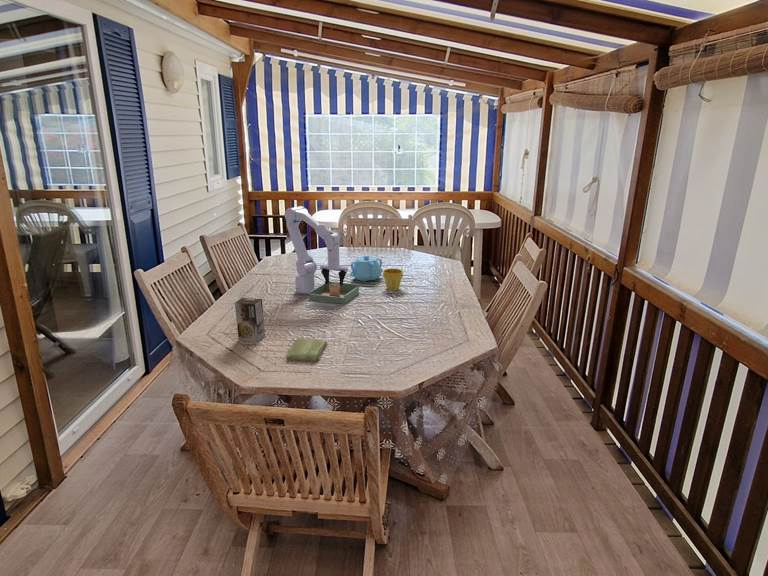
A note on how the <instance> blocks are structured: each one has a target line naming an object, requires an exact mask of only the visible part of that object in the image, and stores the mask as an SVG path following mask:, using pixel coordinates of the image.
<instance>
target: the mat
mask: <svg viewBox="0 0 768 576" xmlns="http://www.w3.org/2000/svg"><path fill="white" fill-rule="evenodd" d="M336 305H337V303H334V302H326V301H318V300H313V302H311V303H310V304H308V305H307V306H304V309H311V310H319V311H327V312H328V311H329V310H330V309H332V308H333V307H335V306H336Z"/></svg>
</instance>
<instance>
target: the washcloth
mask: <svg viewBox="0 0 768 576" xmlns="http://www.w3.org/2000/svg"><path fill="white" fill-rule="evenodd" d="M327 344H328V340H324V339H317V338H312V337H310V338H303V337H298V338H296V340H294V341H293V342H292V345H291V346H290V348H289V349H288V351H287V354H286V357H285V358H286V360H287V361H295V362H300V361H303V362H305V361H306V362H314V363H315V362H318V361H320V359H321V356H322V353H323V351H324V349H325V347H326V345H327Z"/></svg>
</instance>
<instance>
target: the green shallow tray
mask: <svg viewBox="0 0 768 576" xmlns="http://www.w3.org/2000/svg"><path fill="white" fill-rule="evenodd" d="M330 284H339V285H340V281H330V280H329V283H328V284H326V281H325V280H324V283H322V284H321V285H319V286H317V287H316V288H315V289H314V290H312V291H310V294H309V300H311V301H318V302H326V303H334V304H343V305H345V304H347V303H349V301H351V300H352V299H354V298H355V297H357V296H358V295H359V294H360V285H359V284H358V283H357V284H356V283H348V282H343V285H340V297H333V296H330V293H329V285H330Z"/></svg>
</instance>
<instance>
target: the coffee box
mask: <svg viewBox="0 0 768 576" xmlns="http://www.w3.org/2000/svg"><path fill="white" fill-rule="evenodd" d="M234 308H235V310H234V311H235V317H236V326H237V328H236V329H237V335H238V336H237V338H238V341H245V342H260V341H261V340H263V339H264V338H265V337H266V331H265V320H264V319H265V318H264V308H263V299H262V298H251V297H241V298H240V299H238V300H237V301H235V302H234Z"/></svg>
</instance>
